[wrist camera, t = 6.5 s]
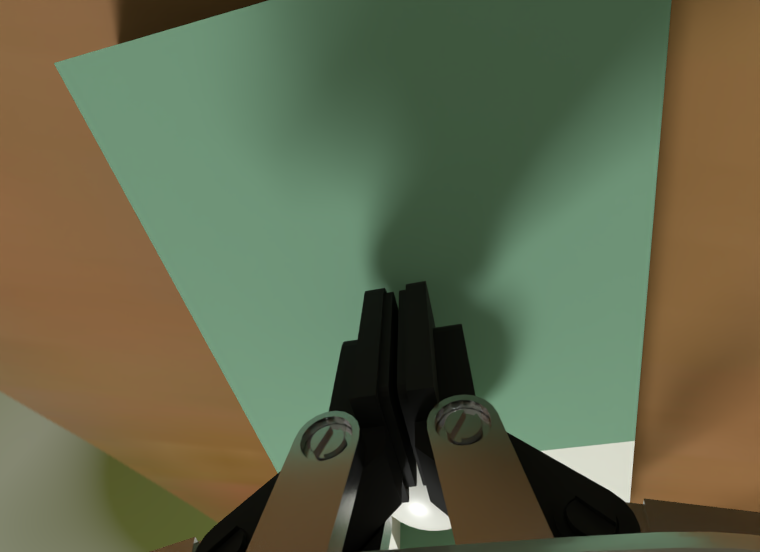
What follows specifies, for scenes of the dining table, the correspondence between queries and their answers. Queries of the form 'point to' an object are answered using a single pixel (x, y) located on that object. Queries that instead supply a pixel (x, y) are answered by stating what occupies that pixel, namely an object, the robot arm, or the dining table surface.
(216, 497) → the dining table surface
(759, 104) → the dining table surface
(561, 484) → the robot arm
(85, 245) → the dining table surface
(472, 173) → the green
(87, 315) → the dining table surface
